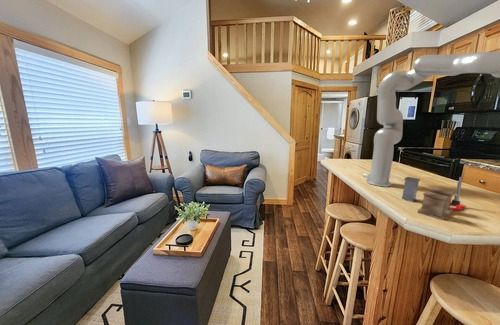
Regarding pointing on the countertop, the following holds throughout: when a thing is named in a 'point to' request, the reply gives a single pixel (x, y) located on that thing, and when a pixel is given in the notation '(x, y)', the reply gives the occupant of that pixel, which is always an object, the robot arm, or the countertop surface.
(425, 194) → the ribbed brown block
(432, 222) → the countertop surface
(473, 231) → the countertop surface
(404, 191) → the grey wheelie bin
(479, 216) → the countertop surface
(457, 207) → the tow hook
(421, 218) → the countertop surface
